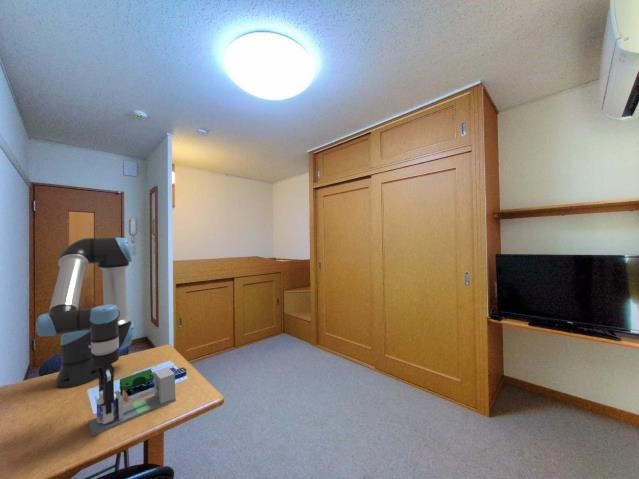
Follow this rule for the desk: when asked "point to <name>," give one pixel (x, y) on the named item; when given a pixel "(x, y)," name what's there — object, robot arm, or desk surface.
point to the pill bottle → (100, 408)
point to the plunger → (131, 399)
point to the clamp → (136, 380)
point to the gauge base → (143, 402)
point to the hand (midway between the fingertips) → (106, 417)
